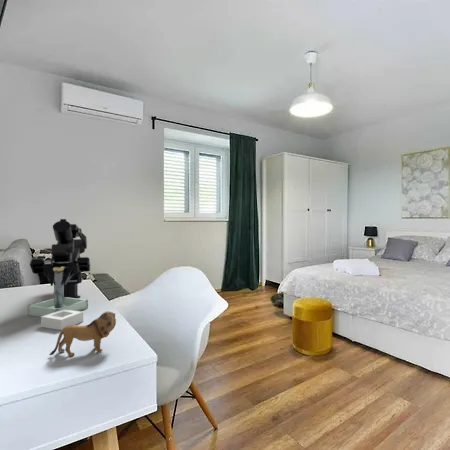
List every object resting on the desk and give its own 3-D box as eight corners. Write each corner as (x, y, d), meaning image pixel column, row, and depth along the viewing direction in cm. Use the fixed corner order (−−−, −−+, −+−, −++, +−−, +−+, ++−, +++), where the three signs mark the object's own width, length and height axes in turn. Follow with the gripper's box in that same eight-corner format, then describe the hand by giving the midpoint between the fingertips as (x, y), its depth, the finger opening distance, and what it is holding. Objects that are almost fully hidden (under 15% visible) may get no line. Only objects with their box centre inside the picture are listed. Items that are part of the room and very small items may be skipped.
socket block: (63, 318, 95) (63, 309, 95) (83, 321, 93) (83, 311, 93) (41, 326, 88) (41, 316, 88) (61, 330, 85) (61, 319, 85)
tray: (60, 304, 111) (60, 296, 111) (87, 308, 107) (87, 299, 107) (27, 314, 99) (27, 305, 99) (56, 319, 94) (56, 309, 94)
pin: (60, 304, 105) (60, 266, 105) (67, 306, 104) (66, 266, 103) (50, 307, 102) (50, 267, 102) (57, 309, 100) (57, 268, 100)
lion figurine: (114, 341, 77) (114, 307, 77) (117, 349, 73) (117, 313, 73) (49, 353, 71) (49, 315, 70) (48, 362, 66) (48, 322, 66)
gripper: (31, 235, 103) (20, 272, 93) (89, 235, 109) (85, 270, 99) (37, 255, 111) (28, 291, 101) (91, 254, 117) (88, 288, 106)
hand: (57, 284), depth 101 cm, fingers open, 4 cm apart
